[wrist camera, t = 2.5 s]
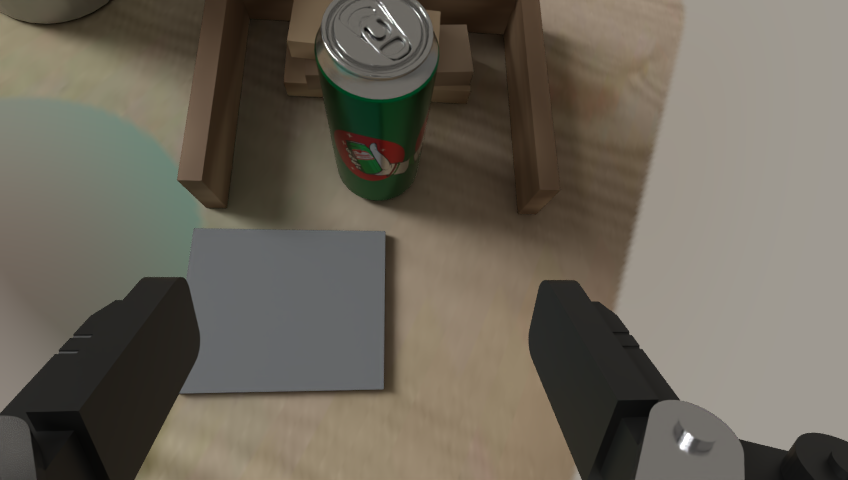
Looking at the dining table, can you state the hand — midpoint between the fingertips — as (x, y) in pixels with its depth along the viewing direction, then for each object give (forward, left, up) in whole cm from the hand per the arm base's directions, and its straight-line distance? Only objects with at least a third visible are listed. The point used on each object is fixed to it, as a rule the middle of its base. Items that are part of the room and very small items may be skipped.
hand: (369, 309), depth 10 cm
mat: (-5, +2, -15) cm, 16 cm away
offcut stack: (0, +18, -15) cm, 24 cm away
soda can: (0, +11, -16) cm, 19 cm away
